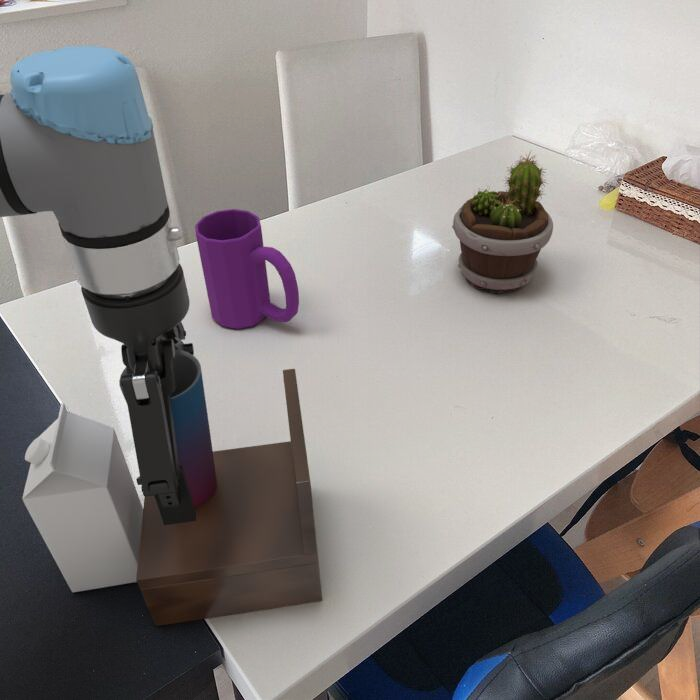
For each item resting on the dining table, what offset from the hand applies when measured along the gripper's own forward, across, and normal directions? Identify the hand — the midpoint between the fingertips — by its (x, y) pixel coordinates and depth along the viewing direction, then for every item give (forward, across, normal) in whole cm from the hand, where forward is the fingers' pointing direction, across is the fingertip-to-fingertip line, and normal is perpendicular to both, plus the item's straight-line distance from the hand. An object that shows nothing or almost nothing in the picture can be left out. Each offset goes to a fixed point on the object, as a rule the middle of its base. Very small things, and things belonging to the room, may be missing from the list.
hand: (183, 461), depth 64 cm
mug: (+12, +38, -8) cm, 40 cm away
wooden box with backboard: (+12, -2, -4) cm, 13 cm away
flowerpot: (+12, +42, -46) cm, 63 cm away
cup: (+4, 0, 0) cm, 4 cm away
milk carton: (+12, -1, +9) cm, 15 cm away
